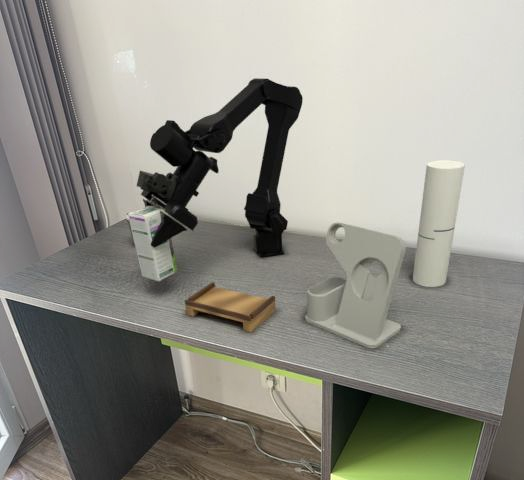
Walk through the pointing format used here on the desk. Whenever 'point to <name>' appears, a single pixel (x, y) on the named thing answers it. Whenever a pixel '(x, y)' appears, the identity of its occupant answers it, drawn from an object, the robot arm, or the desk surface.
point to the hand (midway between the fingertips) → (146, 241)
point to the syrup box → (150, 258)
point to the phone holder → (358, 287)
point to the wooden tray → (231, 306)
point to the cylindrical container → (437, 221)
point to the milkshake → (129, 226)
